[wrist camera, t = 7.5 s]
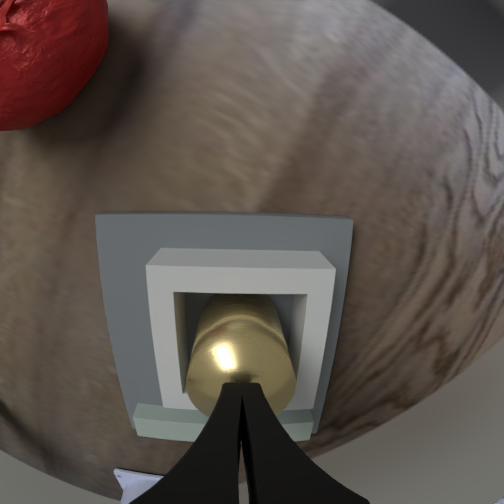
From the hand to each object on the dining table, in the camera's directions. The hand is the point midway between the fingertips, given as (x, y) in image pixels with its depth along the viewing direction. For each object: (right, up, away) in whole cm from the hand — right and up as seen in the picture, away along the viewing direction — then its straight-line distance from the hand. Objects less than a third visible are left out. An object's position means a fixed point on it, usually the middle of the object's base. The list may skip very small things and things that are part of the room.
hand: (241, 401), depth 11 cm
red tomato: (-12, +18, +3) cm, 22 cm away
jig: (-1, 0, +8) cm, 8 cm away
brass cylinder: (0, +2, +6) cm, 7 cm away
